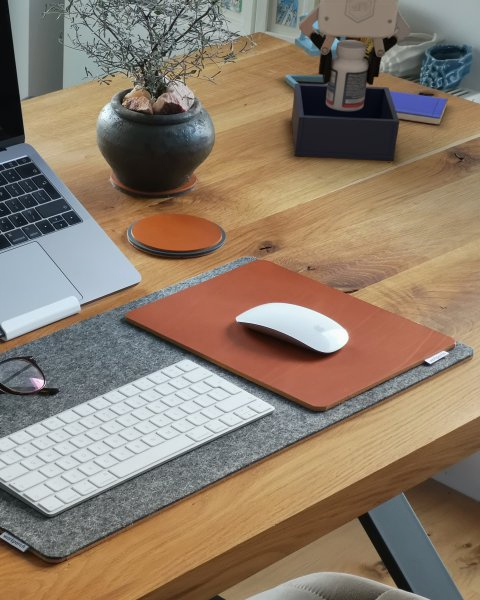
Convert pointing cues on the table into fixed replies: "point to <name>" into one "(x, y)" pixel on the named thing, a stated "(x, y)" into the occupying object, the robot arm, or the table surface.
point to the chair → (312, 51)
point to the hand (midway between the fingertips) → (347, 79)
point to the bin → (344, 125)
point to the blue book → (418, 107)
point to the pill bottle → (348, 77)
